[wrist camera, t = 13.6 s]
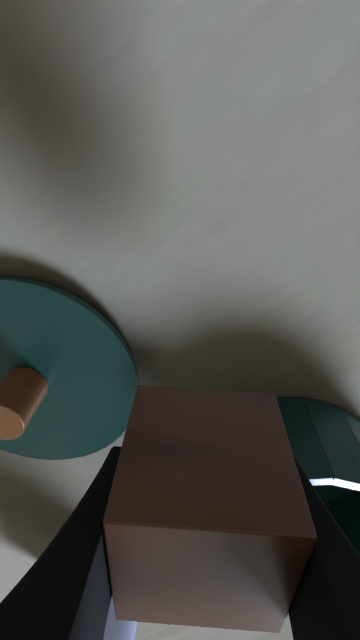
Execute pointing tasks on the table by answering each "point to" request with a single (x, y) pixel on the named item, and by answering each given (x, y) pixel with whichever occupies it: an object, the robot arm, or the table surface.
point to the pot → (328, 456)
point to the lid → (60, 373)
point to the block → (206, 512)
